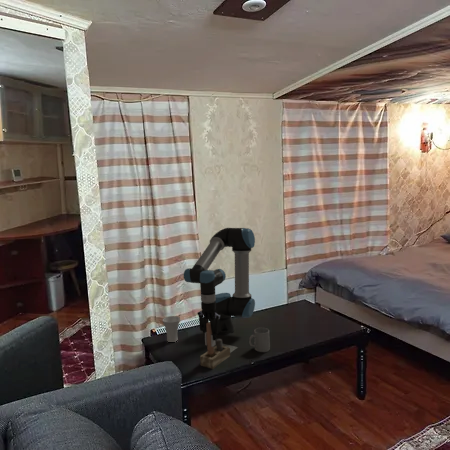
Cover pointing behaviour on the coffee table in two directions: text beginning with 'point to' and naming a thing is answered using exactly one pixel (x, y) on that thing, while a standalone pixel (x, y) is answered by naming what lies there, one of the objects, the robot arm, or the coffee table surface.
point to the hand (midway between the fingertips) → (210, 344)
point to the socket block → (215, 355)
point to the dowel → (209, 339)
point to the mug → (261, 340)
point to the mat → (230, 347)
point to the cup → (171, 327)
